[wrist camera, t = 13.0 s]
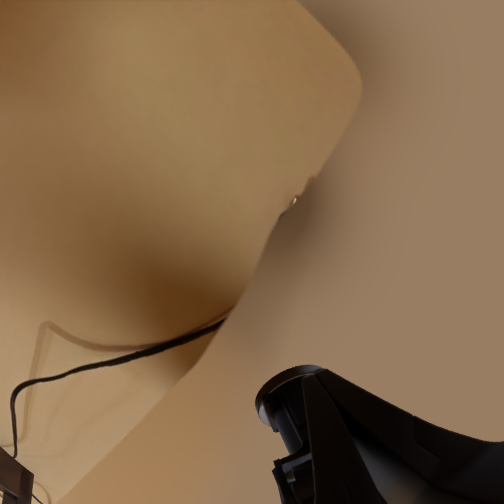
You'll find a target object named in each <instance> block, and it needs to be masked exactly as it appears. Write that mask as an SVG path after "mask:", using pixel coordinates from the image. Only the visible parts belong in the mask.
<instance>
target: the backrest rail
mask: <svg viewBox="0 0 504 504" xmlns="http://www.w3.org/2000/svg"><path fill="white" fill-rule="evenodd" d="M33 480H34V474H32V473H31V472H30V471H28V470H27V469H26V468H24V467H23V466H22V465H21V464H20V463H18V462H17V461H16V460H15V459H13V458H12V457H11V456H10V455H9V454H8V453H6V452H5V451H4V450H3V449H2V448H1V447H0V491H2V492H3V500H2V504H31V498H32V488H33Z"/></svg>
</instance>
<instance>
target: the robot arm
mask: <svg viewBox="0 0 504 504" xmlns="http://www.w3.org/2000/svg"><path fill="white" fill-rule="evenodd" d="M262 402H263V405H264V407H265V410H266V413H267V416H268V418H269V421H270V424H271V426H272V429H273V431H274V432H280V434H281V436H282V439H283V441H284V443H285V445H286V448H287V450H288V452H289V454H290V455H289V456H287V457H284V458H282V459H277V460H275V461H273V462H274V465H275V468H274V469H273V470H272V472H273V475H274V477H275V480H276V482H277V485H278V489H279V493H280V498H281V502H282V504H504V441H502V442H489V441H483V440H479V439H476V438H472V437H469V436H466V435H462V434H459V433H456V432H453V431H449V430H447V429H444V428H441V427H438V426H436V425H433V424H431V423H429V422H427V421H424V420H422V419H420V418H418V417H417V416H413V415H412V414H410V413H408V412H406V411H404V410H402V409H400V408H398V407H397V406H395V405H393V404H390V403H389V402H387V401H385V400H383V399H381V398H379V397H377V396H375V395H373V394H372V393H370V392H368V391H366V390H364V389H362V388H361V387H359V386H357V385H355V384H353V383H351V382H349V381H348V380H346V379H344V378H342V377H341V376H339V375H337V374H335V373H333V372H332V371H330V370H328V369H322V370H320V371H318V372H315V373H314V374H311V375H308V376H306V377H303V378H302V381H300V382H297V383H295V384H292V385H290V386H287V387H285V388H282V389H280V390H277V391H275V392H272V393H269V394H267V395H264V396H263V397H262ZM294 479H295V480H294Z"/></svg>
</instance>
